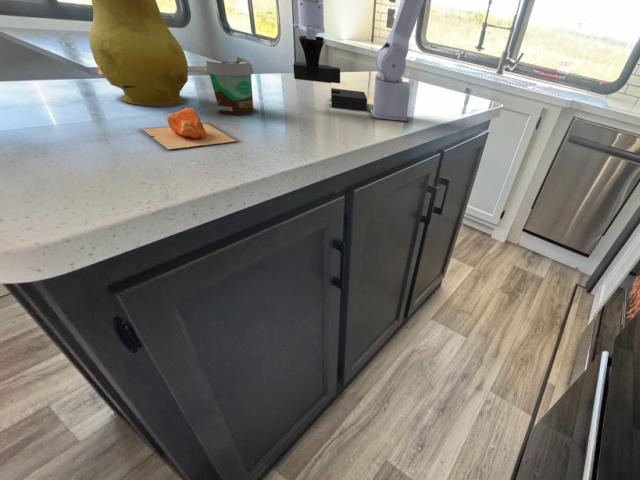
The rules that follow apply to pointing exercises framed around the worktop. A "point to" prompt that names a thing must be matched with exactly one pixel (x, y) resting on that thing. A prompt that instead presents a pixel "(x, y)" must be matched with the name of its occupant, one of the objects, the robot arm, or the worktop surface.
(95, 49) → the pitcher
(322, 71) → the black pad
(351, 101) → the graphite pad
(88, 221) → the worktop surface
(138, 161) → the worktop surface
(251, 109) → the food container
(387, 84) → the robot arm
